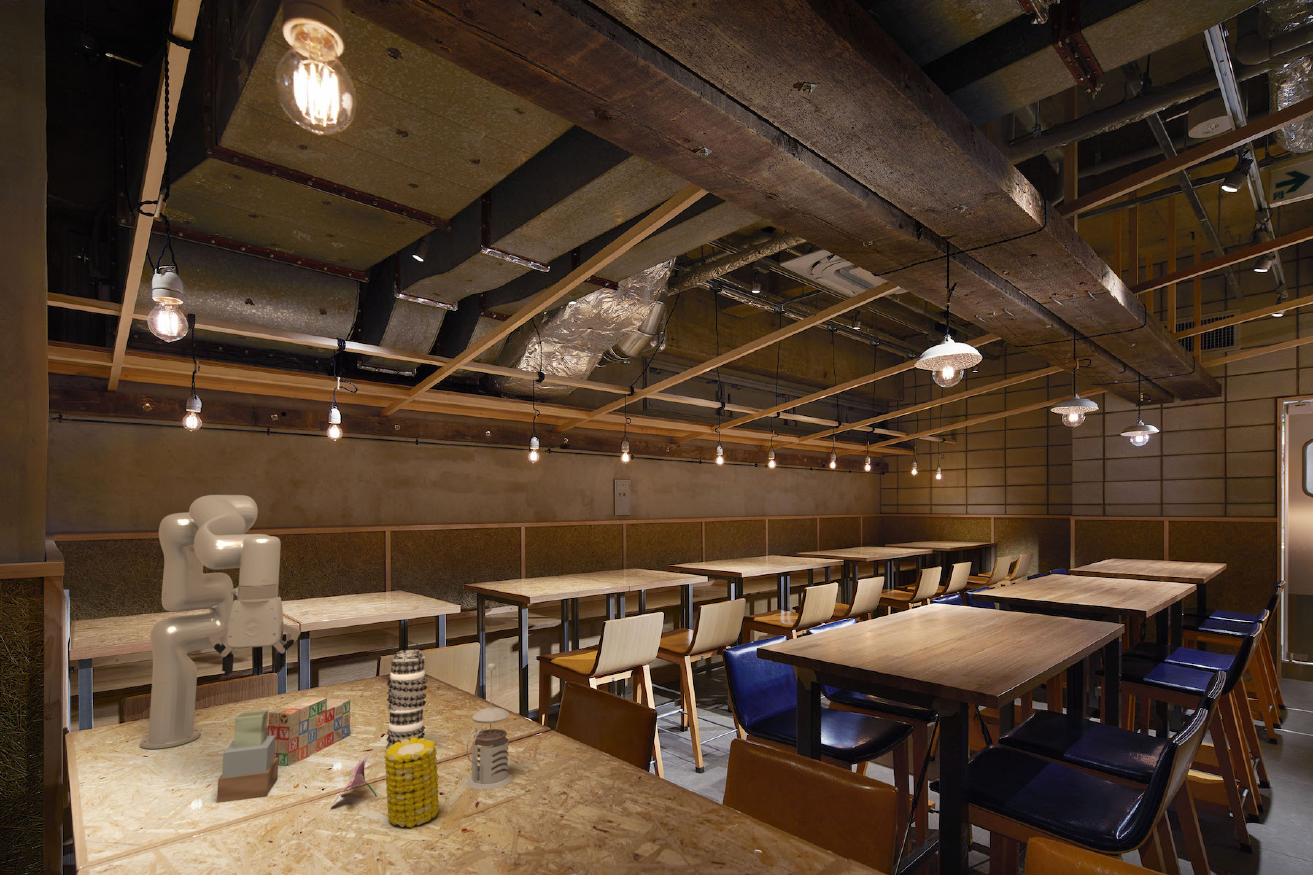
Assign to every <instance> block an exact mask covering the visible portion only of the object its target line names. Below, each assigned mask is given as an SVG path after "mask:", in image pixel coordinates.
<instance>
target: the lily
mask: <svg viewBox="0 0 1313 875" xmlns="http://www.w3.org/2000/svg"><path fill="white" fill-rule="evenodd" d="M373 750H374V748H372V749H371V750H370V751H369V752H368V753H366V755H365V756H364V759H363V760H361V759H360V760H359V761H358V763H357V764H356V766H355V767H354V769H353V770H351V771H349V773H348V772H347V773H346V775H347V777H349V782H348V783H347V785H346V787H345V788H344V789H343V790H342V791H341V792H340V793H339V794H338V795H337V797H335V800H334V801H333V803H332V805H331V807H330V810H332V809H331V808H332V807H333V806H334V804H335V803H336V801H337V800H338V798H339V797H340V796H342V795H343V793H344V792H346V791H348V790H350V789H353V788H355V787H358V786H361V785H362V784H365V785H366V786H367V787H368V788H369V789H370V790H371V792H372V793H373V795H374V797H378V795H377V793H376V792H375V790H374V789H373V788H372V786H371V785H370V783H368V782H367V781H366V778H365V777H366V775H365V766H366V763H367V760H368V758H369V756H370V754H371V753H372V751H373Z"/></svg>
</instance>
